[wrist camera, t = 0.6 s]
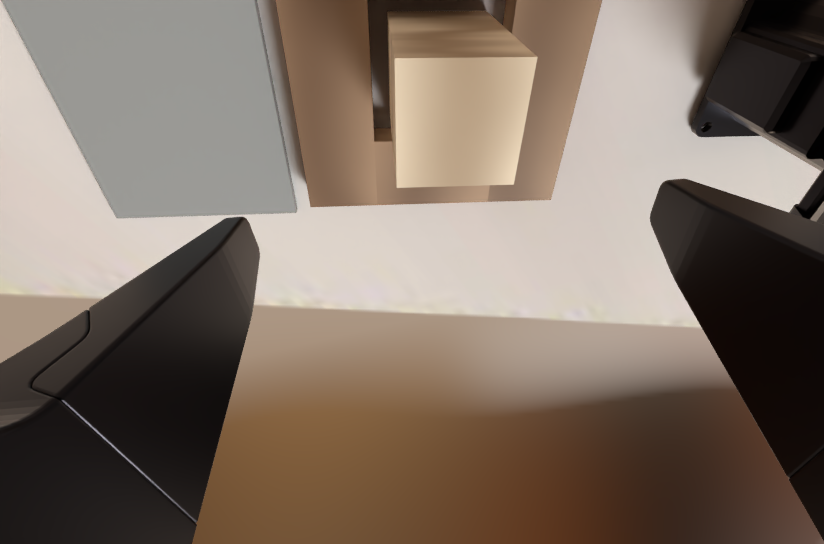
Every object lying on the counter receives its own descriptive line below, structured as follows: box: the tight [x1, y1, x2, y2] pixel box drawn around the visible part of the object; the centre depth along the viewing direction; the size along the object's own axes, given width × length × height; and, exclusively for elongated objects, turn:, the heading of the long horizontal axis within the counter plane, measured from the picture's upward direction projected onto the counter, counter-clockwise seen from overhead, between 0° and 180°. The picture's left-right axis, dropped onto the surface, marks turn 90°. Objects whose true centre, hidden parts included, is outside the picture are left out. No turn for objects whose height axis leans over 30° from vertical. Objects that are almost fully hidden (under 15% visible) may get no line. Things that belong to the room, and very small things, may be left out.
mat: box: [2, 0, 297, 218], centre depth 17 cm, size 9×14×1 cm, turn 179°
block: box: [387, 11, 538, 188], centre depth 16 cm, size 4×4×7 cm
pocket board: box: [276, 0, 602, 207], centre depth 18 cm, size 12×12×2 cm
